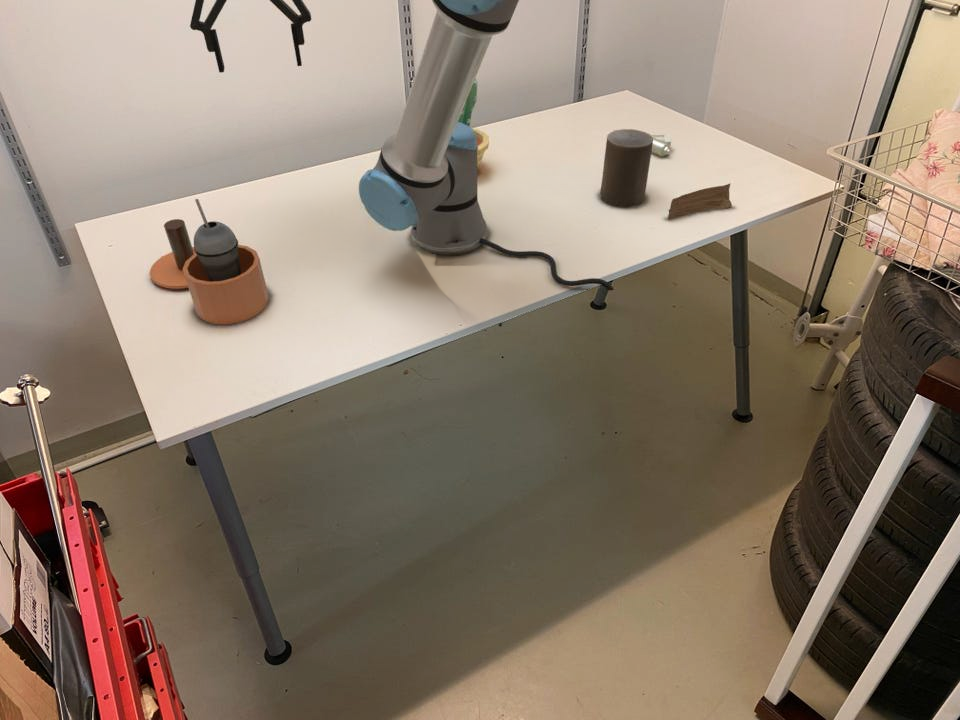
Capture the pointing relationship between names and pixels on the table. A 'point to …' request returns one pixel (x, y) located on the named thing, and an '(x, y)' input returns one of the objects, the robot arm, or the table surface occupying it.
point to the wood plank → (700, 201)
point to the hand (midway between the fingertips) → (261, 67)
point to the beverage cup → (217, 249)
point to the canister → (228, 290)
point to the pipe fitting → (661, 144)
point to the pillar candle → (626, 167)
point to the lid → (173, 257)
